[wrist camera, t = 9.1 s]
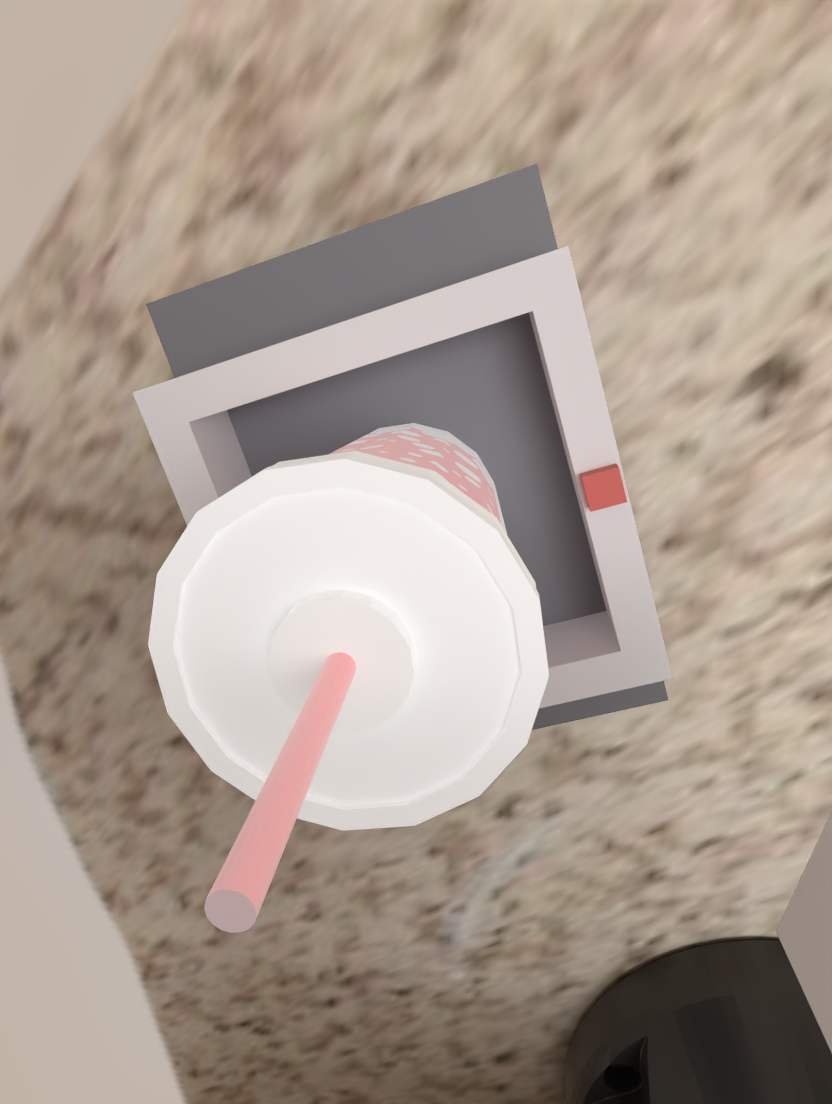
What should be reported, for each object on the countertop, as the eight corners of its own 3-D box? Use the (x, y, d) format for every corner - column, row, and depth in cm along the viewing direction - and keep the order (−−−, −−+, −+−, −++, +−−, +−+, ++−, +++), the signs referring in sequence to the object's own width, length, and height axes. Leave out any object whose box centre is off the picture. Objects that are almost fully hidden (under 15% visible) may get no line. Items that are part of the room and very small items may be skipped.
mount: (636, 627, 26) (694, 759, 18) (359, 693, 27) (307, 837, 20) (528, 194, 22) (544, 136, 14) (216, 304, 24) (86, 303, 16)
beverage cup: (260, 439, 20) (-233, 705, 6) (483, 356, 19) (439, 472, 5) (347, 645, 21) (93, 1200, 8) (559, 580, 20) (672, 1108, 7)
